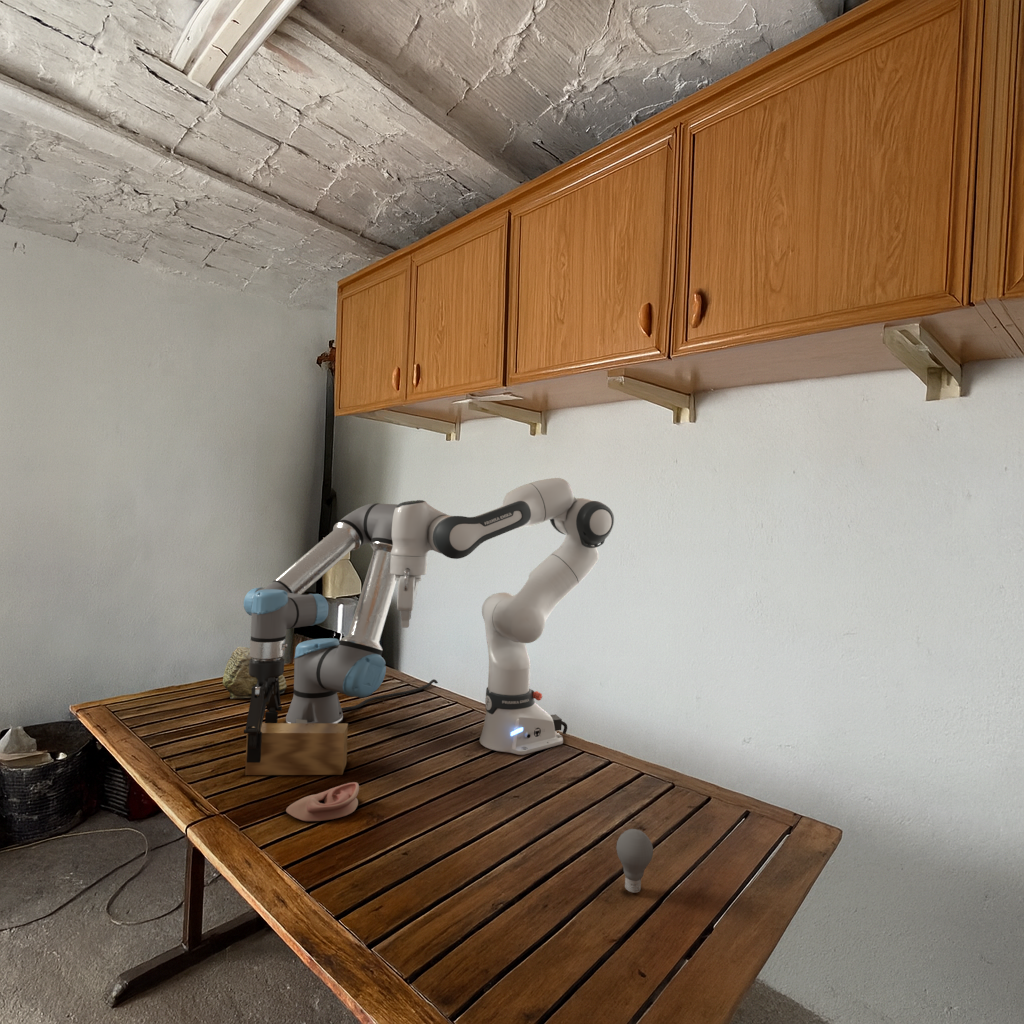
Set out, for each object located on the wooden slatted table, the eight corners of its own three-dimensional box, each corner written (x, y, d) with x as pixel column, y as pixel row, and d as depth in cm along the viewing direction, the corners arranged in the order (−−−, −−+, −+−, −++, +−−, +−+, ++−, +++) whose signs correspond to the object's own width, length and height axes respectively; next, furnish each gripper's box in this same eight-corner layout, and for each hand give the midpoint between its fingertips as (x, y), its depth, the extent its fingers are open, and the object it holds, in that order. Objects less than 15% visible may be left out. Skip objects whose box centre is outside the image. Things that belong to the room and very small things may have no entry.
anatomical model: (278, 797, 124) (308, 772, 135) (277, 817, 124) (307, 791, 136) (340, 806, 122) (366, 781, 133) (339, 827, 122) (365, 799, 133)
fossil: (218, 695, 195) (220, 647, 195) (278, 685, 208) (279, 640, 207) (228, 703, 189) (230, 653, 188) (289, 692, 201) (290, 645, 201)
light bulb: (610, 879, 108) (613, 822, 108) (644, 879, 109) (647, 822, 109) (619, 902, 102) (622, 840, 102) (655, 901, 103) (658, 840, 103)
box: (245, 775, 142) (246, 732, 142) (253, 763, 149) (254, 723, 148) (342, 774, 145) (344, 733, 144) (346, 763, 151) (348, 723, 151)
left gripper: (269, 672, 133) (264, 772, 133) (296, 646, 158) (291, 731, 158) (232, 671, 132) (227, 772, 132) (265, 645, 157) (260, 730, 157)
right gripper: (420, 572, 144) (417, 632, 145) (422, 562, 165) (420, 615, 165) (392, 571, 144) (389, 631, 144) (398, 561, 164) (396, 615, 164)
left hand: (262, 750), depth 145 cm, fingers open, 13 cm apart
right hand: (406, 623), depth 155 cm, fingers open, 8 cm apart
